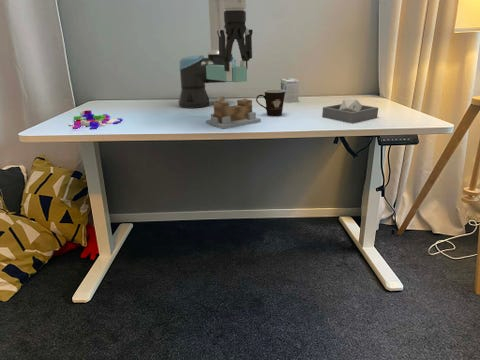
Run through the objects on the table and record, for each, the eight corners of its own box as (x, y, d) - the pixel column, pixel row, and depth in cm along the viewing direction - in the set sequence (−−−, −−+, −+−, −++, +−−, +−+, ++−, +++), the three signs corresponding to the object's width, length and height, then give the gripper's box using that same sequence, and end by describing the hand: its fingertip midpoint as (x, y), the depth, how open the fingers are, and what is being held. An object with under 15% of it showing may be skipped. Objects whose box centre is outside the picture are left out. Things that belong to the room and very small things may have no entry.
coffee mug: (285, 113, 160) (286, 89, 156) (282, 117, 152) (283, 92, 148) (260, 112, 163) (260, 89, 159) (255, 116, 155) (255, 92, 151)
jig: (222, 129, 135) (221, 119, 134) (205, 123, 144) (205, 114, 143) (261, 121, 145) (261, 112, 144) (243, 116, 154) (243, 108, 153)
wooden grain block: (220, 123, 138) (219, 98, 135) (214, 121, 142) (213, 96, 138) (252, 117, 146) (251, 94, 143) (245, 116, 150) (245, 92, 146)
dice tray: (322, 116, 151) (322, 107, 149) (347, 111, 159) (348, 102, 158) (351, 123, 140) (352, 113, 138) (377, 117, 148) (378, 107, 147)
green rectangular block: (206, 78, 143) (205, 65, 141) (216, 77, 146) (216, 64, 144) (236, 82, 130) (236, 67, 128) (246, 81, 133) (246, 66, 131)
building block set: (115, 129, 140) (113, 118, 138) (60, 132, 138) (57, 120, 136) (127, 116, 163) (126, 106, 161) (80, 118, 161) (78, 107, 159)
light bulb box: (280, 99, 192) (280, 78, 188) (292, 98, 193) (292, 77, 189) (286, 102, 182) (286, 80, 178) (298, 102, 184) (299, 80, 180)
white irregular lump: (335, 119, 149) (347, 103, 141) (335, 105, 154) (347, 89, 146) (353, 126, 150) (366, 110, 142) (353, 112, 155) (365, 96, 147)
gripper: (217, 9, 117) (220, 83, 126) (262, 10, 127) (262, 78, 135) (205, 10, 123) (209, 81, 131) (250, 11, 132) (250, 77, 141)
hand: (236, 79), depth 133 cm, fingers closed on green rectangular block, 5 cm apart
